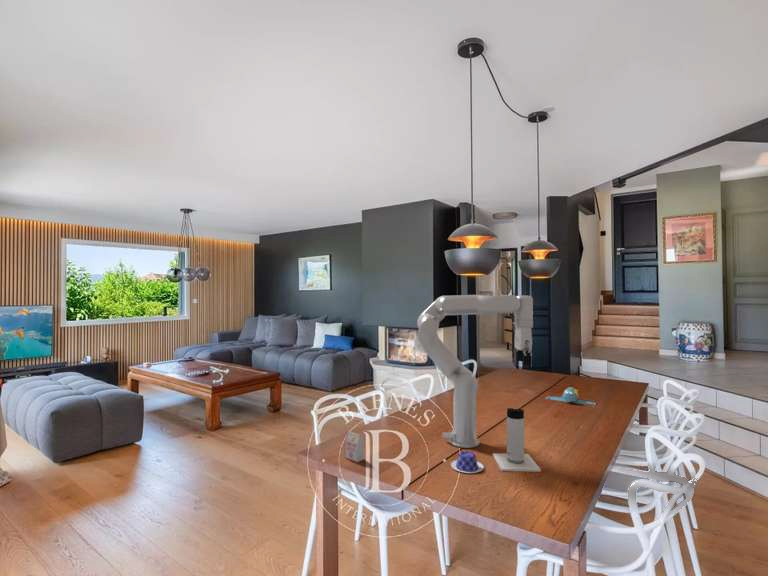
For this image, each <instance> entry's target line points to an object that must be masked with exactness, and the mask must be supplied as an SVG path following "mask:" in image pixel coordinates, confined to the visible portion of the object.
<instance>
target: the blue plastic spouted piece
mask: <svg viewBox="0 0 768 576" xmlns="http://www.w3.org/2000/svg"><path fill="white" fill-rule="evenodd" d="M578 392H579V389H576V388H574V387H572V386H571V387H570V386H569V387H567V388H565V389H564V391H563V394H562V395H561V396H560V397H559V396H550V395H549V396H546V397H545V400H553V401H559V402H566V403H573V404H580V405H586V404H594V405H596V403H597V402H592V401H587V400H582V399H578V397H579V393H578ZM594 405H593V406H594ZM596 406H597V405H596Z"/></svg>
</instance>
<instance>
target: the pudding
mask: <svg viewBox="0 0 768 576" xmlns="http://www.w3.org/2000/svg"><path fill="white" fill-rule="evenodd" d="M450 467H451V468H452V469H454V470H455V471H458V472H460V473H466V474H475V473H480V472H482V471H483V470H484V465H483V464H482V463H481V462H479V461H477V456H476V454H475V453H473V452H472V451H469V450H463V451H461V452H459V453H458V457H457V459H456V460H453V461H452V462H451V463H450ZM460 470H461V471H460Z"/></svg>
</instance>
